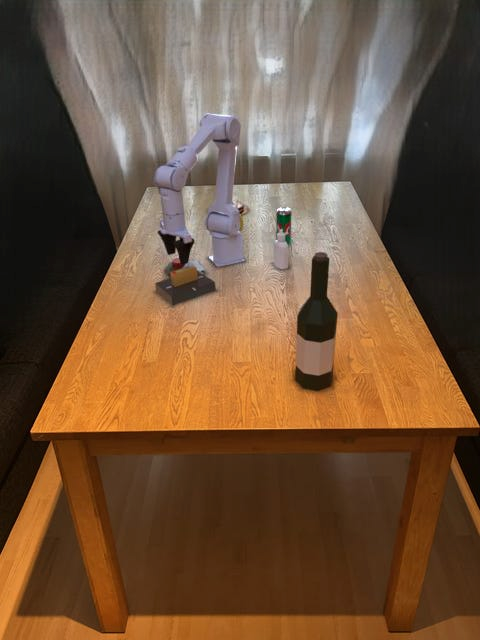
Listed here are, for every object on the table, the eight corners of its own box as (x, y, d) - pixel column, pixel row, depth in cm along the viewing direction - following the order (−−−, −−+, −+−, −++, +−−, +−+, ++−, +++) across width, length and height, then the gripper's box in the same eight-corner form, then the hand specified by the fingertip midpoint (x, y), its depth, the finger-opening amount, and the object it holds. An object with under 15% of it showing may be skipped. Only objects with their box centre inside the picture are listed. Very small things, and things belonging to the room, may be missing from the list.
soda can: (291, 240, 181) (291, 206, 175) (290, 246, 177) (291, 212, 171) (276, 240, 182) (276, 206, 175) (275, 246, 177) (275, 211, 171)
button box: (195, 263, 168) (195, 255, 166) (205, 273, 162) (204, 264, 160) (165, 270, 164) (164, 261, 163) (173, 281, 158) (172, 272, 156)
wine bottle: (292, 368, 120) (295, 247, 104) (328, 366, 120) (337, 244, 104) (298, 392, 113) (303, 265, 97) (336, 389, 113) (348, 262, 97)
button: (181, 262, 163) (181, 256, 162) (185, 266, 160) (185, 261, 159) (170, 264, 162) (170, 259, 161) (174, 269, 159) (173, 263, 158)
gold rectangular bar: (194, 277, 153) (193, 264, 151) (197, 279, 152) (196, 266, 150) (171, 284, 150) (170, 271, 147) (174, 287, 148) (173, 273, 146)
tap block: (196, 277, 160) (195, 267, 158) (217, 292, 151) (216, 282, 150) (154, 290, 153) (153, 281, 151) (174, 307, 145) (172, 297, 143)
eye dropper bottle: (287, 261, 167) (288, 226, 161) (288, 269, 162) (289, 233, 156) (273, 262, 167) (273, 226, 161) (274, 270, 162) (274, 233, 156)
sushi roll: (244, 217, 200) (244, 207, 198) (206, 217, 202) (205, 206, 200) (249, 204, 213) (249, 194, 210) (212, 203, 215) (212, 193, 212)
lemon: (242, 237, 184) (241, 215, 180) (226, 236, 186) (225, 214, 181) (245, 231, 189) (244, 209, 185) (230, 230, 190) (229, 209, 186)
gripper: (147, 207, 144) (153, 253, 151) (172, 223, 133) (177, 271, 141) (170, 202, 147) (175, 247, 154) (196, 217, 137) (200, 264, 144)
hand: (177, 258), depth 148 cm, fingers open, 7 cm apart
